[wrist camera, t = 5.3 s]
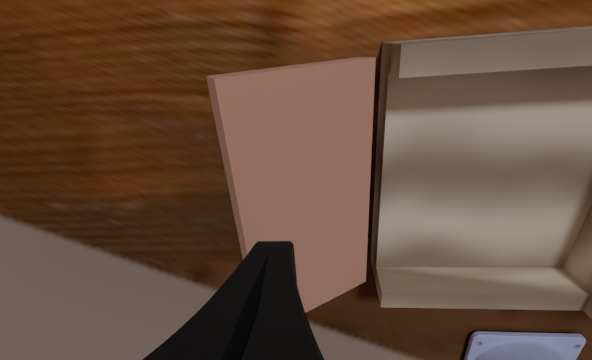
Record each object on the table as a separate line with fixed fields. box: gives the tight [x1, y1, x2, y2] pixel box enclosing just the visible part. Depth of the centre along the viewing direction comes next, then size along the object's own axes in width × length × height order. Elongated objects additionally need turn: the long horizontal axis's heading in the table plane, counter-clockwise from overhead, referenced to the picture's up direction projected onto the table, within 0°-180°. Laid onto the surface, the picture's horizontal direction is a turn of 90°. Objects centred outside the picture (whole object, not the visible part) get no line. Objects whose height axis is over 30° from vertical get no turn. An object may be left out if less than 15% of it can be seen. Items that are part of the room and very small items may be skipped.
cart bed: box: [371, 26, 592, 319], centre depth 15 cm, size 14×12×5 cm
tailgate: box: [206, 57, 376, 313], centre depth 15 cm, size 13×2×7 cm
